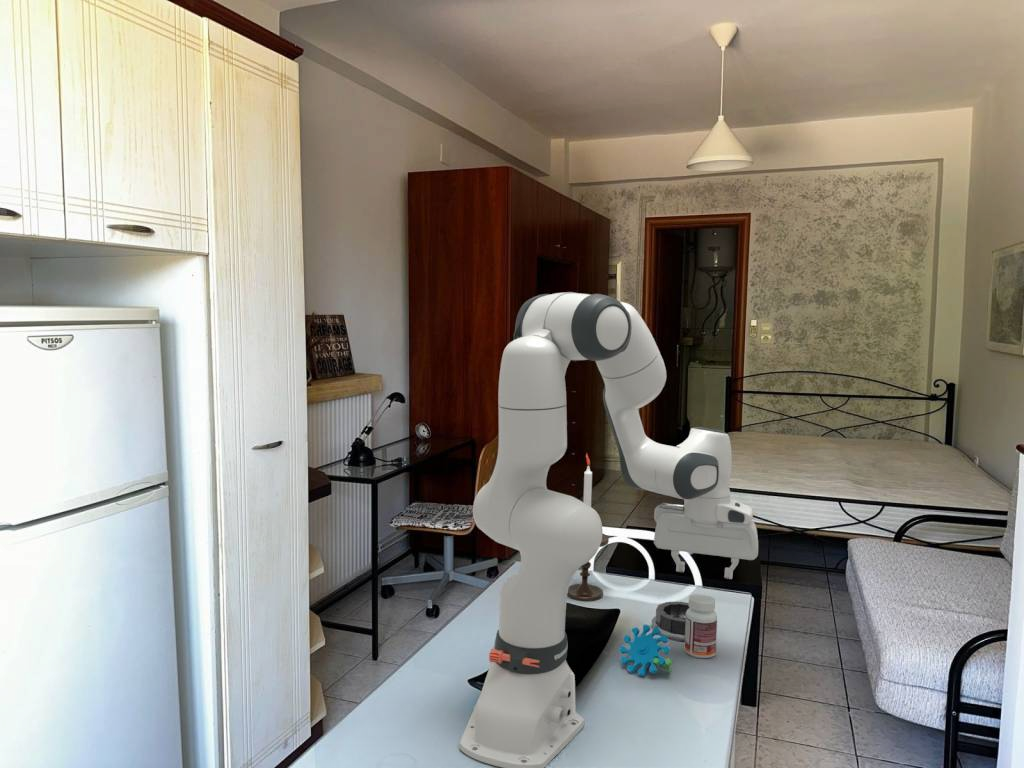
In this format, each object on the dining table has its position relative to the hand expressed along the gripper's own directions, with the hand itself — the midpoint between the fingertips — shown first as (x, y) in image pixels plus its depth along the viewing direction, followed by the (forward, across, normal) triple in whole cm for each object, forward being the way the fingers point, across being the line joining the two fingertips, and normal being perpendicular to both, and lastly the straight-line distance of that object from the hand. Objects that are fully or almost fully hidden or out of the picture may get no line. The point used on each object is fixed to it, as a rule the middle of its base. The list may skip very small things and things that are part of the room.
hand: (704, 574), depth 145 cm
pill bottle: (+16, 0, 0) cm, 17 cm away
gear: (+16, -9, -12) cm, 22 cm away
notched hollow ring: (+16, -5, +10) cm, 20 cm away
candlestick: (+16, -30, +21) cm, 40 cm away
